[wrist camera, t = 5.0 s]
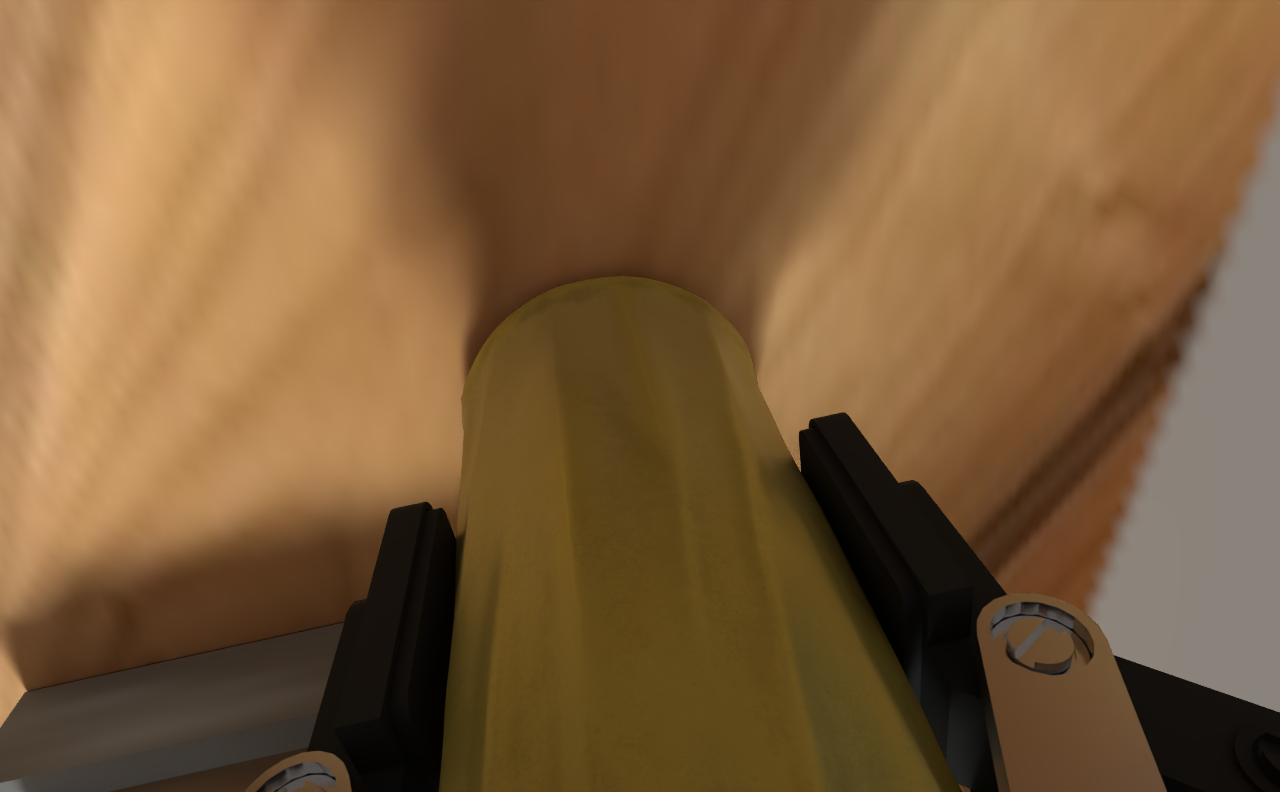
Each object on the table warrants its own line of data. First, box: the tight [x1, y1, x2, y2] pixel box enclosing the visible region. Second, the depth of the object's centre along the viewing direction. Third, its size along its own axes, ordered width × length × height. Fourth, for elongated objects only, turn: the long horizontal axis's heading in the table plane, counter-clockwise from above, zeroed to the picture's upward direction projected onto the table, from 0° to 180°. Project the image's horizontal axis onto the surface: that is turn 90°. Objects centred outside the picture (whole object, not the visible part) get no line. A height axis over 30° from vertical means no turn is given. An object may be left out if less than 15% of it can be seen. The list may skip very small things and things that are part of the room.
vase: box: [439, 276, 962, 792], centre depth 9 cm, size 6×6×14 cm
